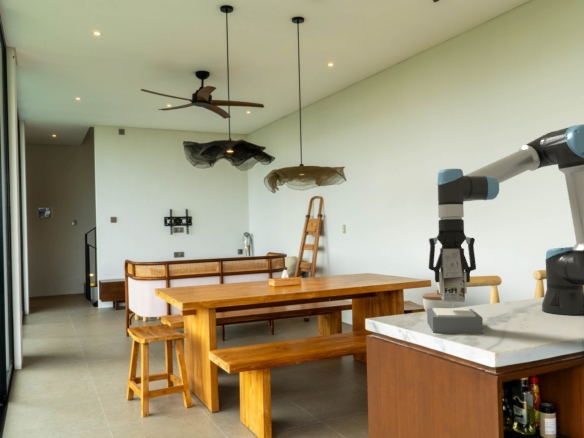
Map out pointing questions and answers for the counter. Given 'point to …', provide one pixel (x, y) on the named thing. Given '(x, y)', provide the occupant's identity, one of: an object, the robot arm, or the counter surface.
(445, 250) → the coffee box
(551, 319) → the counter surface
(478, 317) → the dock
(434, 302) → the lidded jar
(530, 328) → the counter surface
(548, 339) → the counter surface
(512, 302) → the counter surface
